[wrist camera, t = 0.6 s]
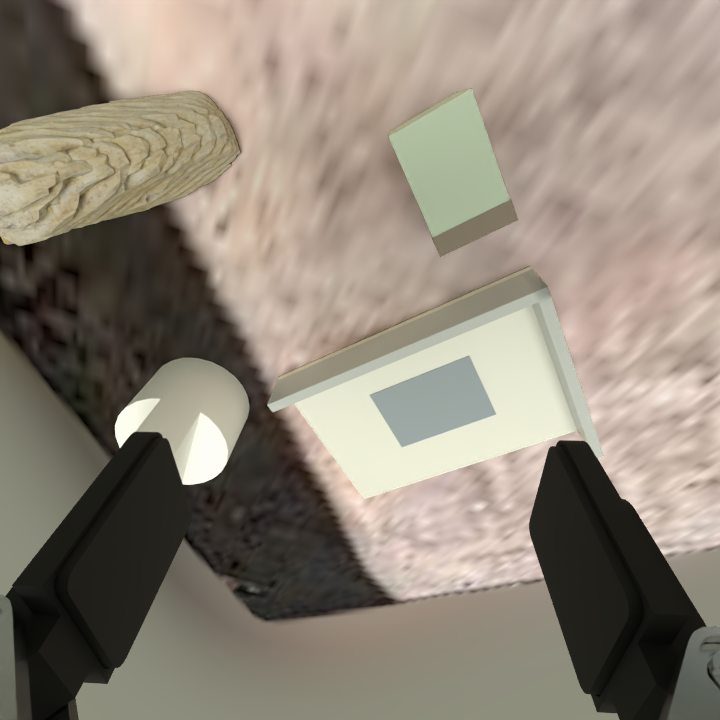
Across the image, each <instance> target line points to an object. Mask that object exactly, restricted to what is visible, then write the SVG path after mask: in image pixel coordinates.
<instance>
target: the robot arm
mask: <svg viewBox="0 0 720 720" xmlns="http://www.w3.org/2000/svg"><path fill="white" fill-rule="evenodd" d="M190 522H191V508H190V505H189V502H188V499H187V496H186V493H185V490H184V487H183V484H182V480H181V477H180V474H179V471H178V468H177V465H176V462H175V459H174V456H173V453H172V450H171V446H170V443H169V441H168V439H166V438H163V437H162V435H161V434H160V433H159V432H134V433H132V434H131V435H130V436H129V437H128V439H127V440H126V441H125V442H124V444H123V445H122V446H121V448H120V449H119V450H118V451H117V453H116V454H115V455H114V456H113V458H112V459H111V460H110V462H109V463H108V464H107V465H106V467H105V468H104V469H103V470H102V472H101V473H100V474H99V476H98V477H97V478H96V479H95V481H94V482H93V483H92V485H91V486H90V487H89V488H88V490H87V491H86V492H85V493H84V495H83V496H82V497H81V499H80V500H79V501H78V502H77V504H76V505H75V506H74V507H73V509H72V510H71V511H70V513H69V514H68V515H67V516H66V518H65V519H64V520H63V521H62V523H61V524H60V525H59V526H58V528H57V529H56V530H55V532H54V533H53V534H52V535H51V537H50V538H49V539H48V540H47V542H46V543H45V544H44V545H43V547H42V548H41V549H40V551H39V552H38V553H37V554H36V556H35V557H34V558H33V559H32V561H31V562H30V563H29V564H28V566H27V567H26V568H25V570H24V571H23V572H22V573H21V575H20V576H19V577H18V578H17V580H16V581H15V582H14V584H13V585H12V586H13V587H12V588H11V590H10V591H9V592H8V594H7V595H6V596H3V595H0V720H79V719H78V712H77V706H76V699H75V697H76V695H77V693H78V691H79V689H80V688H81V686H82V684H83V682H85V683H102V684H107V683H108V681H109V679H110V677H111V675H112V673H113V671H114V669H115V668H118V667H120V666H121V665H122V664H123V662H124V661H125V659H126V657H127V655H128V653H129V651H130V649H131V646H132V645H133V643H134V640H135V638H136V636H137V634H138V632H139V630H140V628H141V626H142V624H143V622H144V619H145V617H146V615H147V613H148V611H149V609H150V607H151V605H152V603H153V600H154V598H155V596H156V594H157V592H158V590H159V588H160V586H161V584H162V582H163V580H164V577H165V575H166V573H167V571H168V569H169V567H170V565H171V563H172V561H173V559H174V556H175V554H176V552H177V550H178V548H179V546H180V544H181V542H182V540H183V538H184V535H185V533H186V531H187V529H188V527H189V525H190ZM529 530H530V536H531V539H532V542H533V545H534V548H535V551H536V554H537V557H538V560H539V563H540V566H541V569H542V572H543V575H544V578H545V581H546V584H547V587H548V590H549V593H550V596H551V599H552V602H553V605H554V608H555V612H556V615H557V617H558V620H559V624H560V626H561V630H562V632H563V636H564V639H565V642H566V645H567V648H568V651H569V654H570V656H571V660H572V663H573V666H574V669H575V672H576V675H577V678H578V681H579V683H580V686H581V688H582V690H583V691H584V692H585V693H586V694H591V696H592V698H593V701H594V704H595V707H596V710H597V712H604V713H617V714H618V716H619V719H620V720H720V627H717V626H713V627H707V626H706V625H705V623H704V621H703V620H702V618H701V616H700V615H699V613H698V612H697V610H696V608H695V607H694V605H693V603H692V602H691V600H690V599H689V597H688V596H687V594H686V592H685V590H684V589H683V587H682V586H681V584H680V582H679V581H678V579H677V577H676V576H675V574H674V572H673V571H672V569H671V568H670V566H669V564H668V563H667V561H666V559H665V558H664V556H663V554H662V553H661V551H660V550H659V548H658V546H657V545H656V543H655V541H654V540H653V538H652V536H651V535H650V533H649V532H648V530H647V528H646V527H645V525H644V523H643V522H642V520H641V519H640V517H639V515H638V514H637V512H636V510H635V509H634V508H633V506H632V505H631V504H630V503H629V502H628V501H626V500H625V499H621V498H620V496H619V494H618V492H617V491H616V489H615V487H614V486H613V484H612V482H611V481H610V479H609V477H608V476H607V474H606V472H605V471H604V469H603V467H602V466H601V464H600V462H599V461H598V459H597V457H596V455H595V454H594V452H593V450H592V449H591V447H590V445H589V444H588V443H587V442H585V441H563V440H561V441H559V442H558V443H557V445H556V447H555V446H552V447H550V448H549V451H548V454H547V458H546V462H545V465H544V469H543V473H542V477H541V480H540V484H539V488H538V492H537V495H536V499H535V503H534V507H533V510H532V514H531V518H530V523H529Z"/></svg>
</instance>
